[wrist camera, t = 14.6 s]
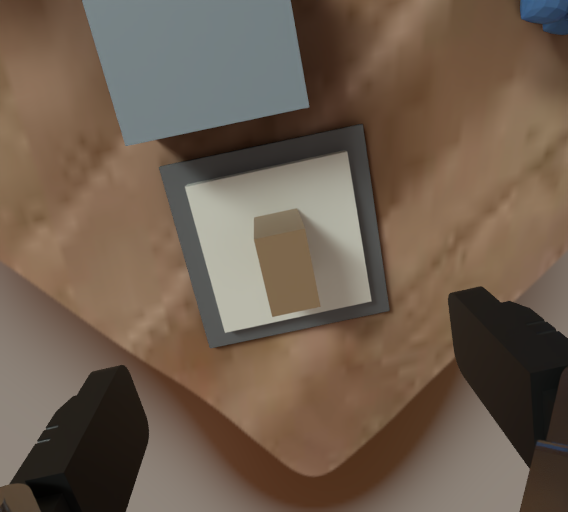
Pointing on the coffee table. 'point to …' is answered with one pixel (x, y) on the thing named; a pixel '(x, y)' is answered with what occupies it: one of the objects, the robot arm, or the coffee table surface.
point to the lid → (281, 240)
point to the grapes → (546, 14)
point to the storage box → (196, 63)
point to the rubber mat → (260, 158)
